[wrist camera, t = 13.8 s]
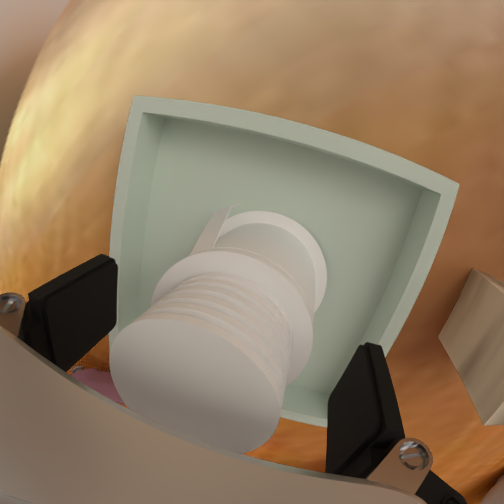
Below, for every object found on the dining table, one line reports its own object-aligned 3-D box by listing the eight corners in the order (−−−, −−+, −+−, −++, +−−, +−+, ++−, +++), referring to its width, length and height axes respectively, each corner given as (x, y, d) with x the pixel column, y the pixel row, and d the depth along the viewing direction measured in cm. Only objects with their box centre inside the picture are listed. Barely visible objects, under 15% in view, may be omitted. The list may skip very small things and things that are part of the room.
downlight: (341, 324, 15) (352, 476, 6) (228, 347, 17) (155, 473, 8) (302, 183, 14) (275, 188, 5) (181, 223, 16) (38, 279, 7)
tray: (434, 179, 13) (459, 184, 10) (335, 398, 18) (336, 429, 15) (162, 104, 14) (133, 95, 12) (131, 329, 20) (109, 351, 17)
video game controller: (126, 350, 23) (58, 362, 17) (149, 396, 21) (81, 419, 15) (90, 384, 26) (38, 395, 20) (108, 420, 25) (56, 436, 19)
